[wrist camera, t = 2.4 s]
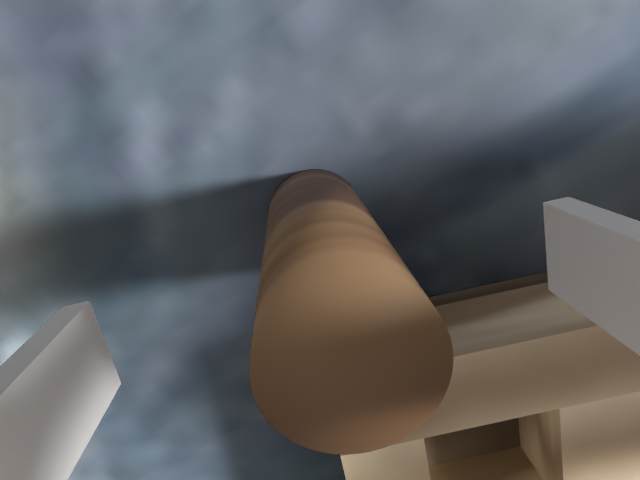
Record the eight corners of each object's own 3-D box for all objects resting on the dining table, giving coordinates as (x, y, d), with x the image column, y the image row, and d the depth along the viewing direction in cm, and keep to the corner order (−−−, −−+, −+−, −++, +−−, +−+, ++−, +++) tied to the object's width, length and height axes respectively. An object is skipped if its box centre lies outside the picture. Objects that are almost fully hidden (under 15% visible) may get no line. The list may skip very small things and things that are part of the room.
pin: (258, 180, 20) (225, 300, 9) (351, 160, 20) (440, 253, 9) (280, 266, 21) (275, 472, 10) (367, 248, 21) (463, 431, 10)
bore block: (315, 321, 22) (323, 385, 17) (566, 267, 22) (643, 315, 18) (359, 515, 26) (376, 611, 21) (575, 468, 26) (640, 553, 21)
